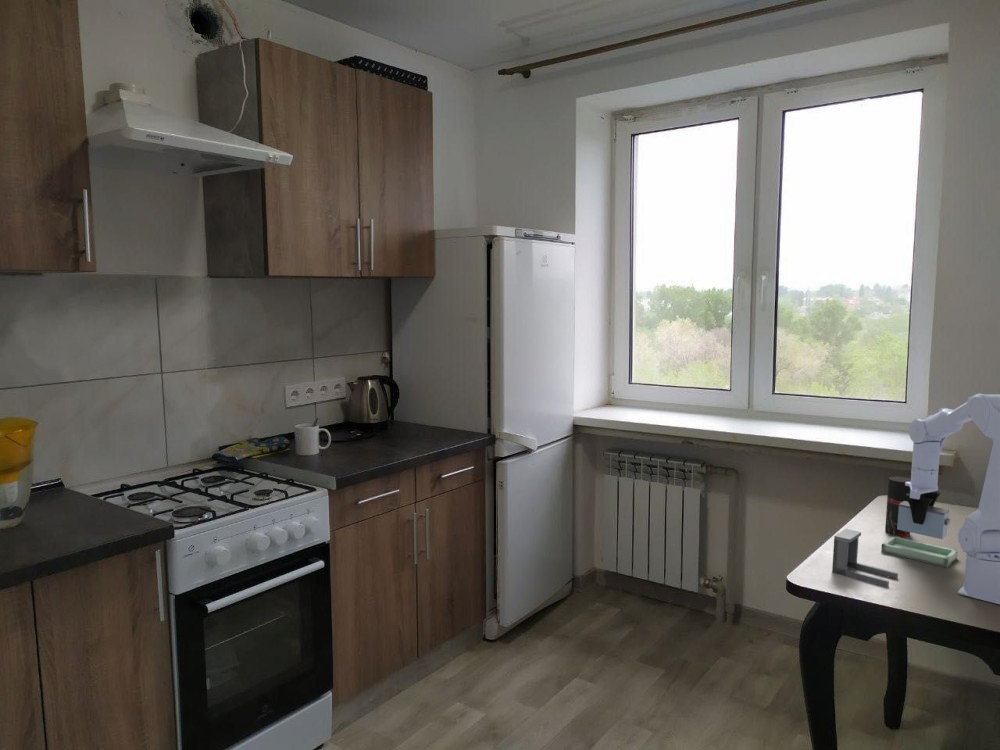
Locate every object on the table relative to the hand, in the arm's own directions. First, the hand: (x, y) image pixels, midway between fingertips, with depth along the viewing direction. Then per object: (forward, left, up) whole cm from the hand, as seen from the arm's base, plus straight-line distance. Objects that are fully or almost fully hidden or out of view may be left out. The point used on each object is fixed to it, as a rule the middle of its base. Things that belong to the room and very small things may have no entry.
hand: (921, 521), depth 180 cm
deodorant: (+9, -14, -9) cm, 19 cm away
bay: (+5, +23, -9) cm, 25 cm away
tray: (0, 0, -9) cm, 9 cm away
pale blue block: (0, 0, -3) cm, 3 cm away
